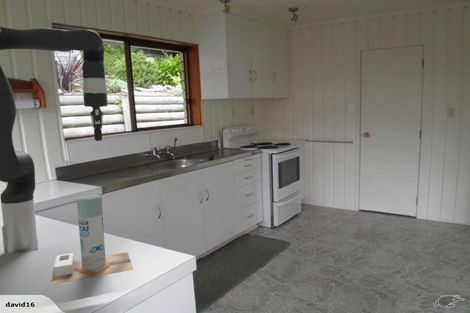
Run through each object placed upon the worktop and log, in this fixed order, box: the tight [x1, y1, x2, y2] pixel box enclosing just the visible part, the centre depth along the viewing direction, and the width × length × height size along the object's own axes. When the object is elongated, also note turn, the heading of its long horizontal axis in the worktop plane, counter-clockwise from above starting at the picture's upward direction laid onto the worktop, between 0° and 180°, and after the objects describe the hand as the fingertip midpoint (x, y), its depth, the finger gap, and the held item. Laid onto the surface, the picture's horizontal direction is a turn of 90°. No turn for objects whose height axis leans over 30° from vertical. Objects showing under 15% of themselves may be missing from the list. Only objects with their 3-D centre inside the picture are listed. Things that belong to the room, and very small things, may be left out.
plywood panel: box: [52, 251, 134, 285], centre depth 102 cm, size 20×14×2 cm
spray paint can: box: [76, 194, 106, 270], centre depth 101 cm, size 6×6×20 cm
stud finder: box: [53, 252, 75, 277], centre depth 100 cm, size 9×4×3 cm, turn 23°
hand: (98, 139), depth 123 cm, fingers open, 8 cm apart
